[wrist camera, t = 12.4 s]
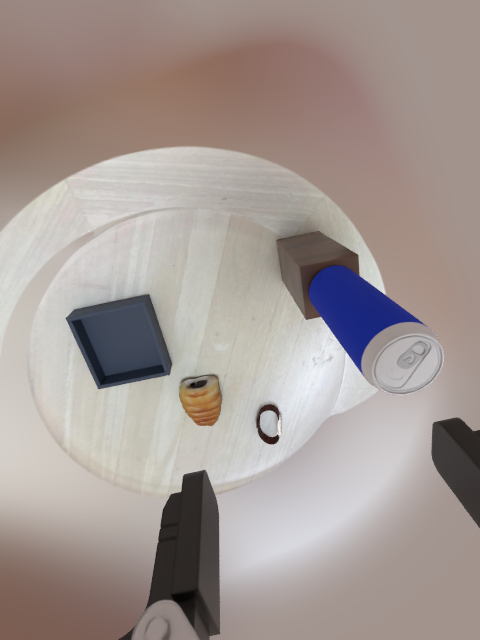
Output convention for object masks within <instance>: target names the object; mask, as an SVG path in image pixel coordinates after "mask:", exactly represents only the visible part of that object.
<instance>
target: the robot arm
mask: <svg viewBox="0 0 480 640" xmlns="http://www.w3.org/2000/svg"><path fill="white" fill-rule="evenodd" d="M432 459H433V462H434V465H435V466H436V469H437V471H438V472H439V474H440V475H441V476H442V478H443V479H444V480H445V482H446V483H447V485H448V486H449V487H450V489H451V490H452V491H453V493H454V494H455V495H456V497H457V498H458V499H459V501H460V502H461V503H462V505H463V506H464V508H465V509H466V510H467V512H468V513H469V514H470V516H471V517H472V518H473V520H474V521H475V522H476V523H477V525H478V527H479V528H480V430H478V431H472V430H471V429H470V428H469V427H468V426H467V425H466V424H465V422H463V421H462V420H461V419H460V418H452V419H447V420H442V421H438V422H434V423H433V430H432ZM158 540H159V543H158V545H157V551H156V558H155V565H154V571H153V577H152V583H151V590H150V596H149V600H148V604H147V607H146V609H145V611H144V612H143V614H142V615H141V616H140V618H139V619H138V621H137V623H136V625H135V626H134V628H133V629H132V630H131V631H130V632H128V633H127V634H126V635H125V636H123V637H122V638H120V639H119V640H209V636H212V635H217V634H220V601H219V600H220V595H219V591H220V589H219V512H218V505H217V500H216V497H215V494H214V491H213V488H212V486H211V483H210V480H209V477H208V475H207V472H206V471H205V470H203V471H198V472H193V473H188V474H184V476H183V482H182V491H181V492H179V493H174V494H171V495H170V497H169V499H168V501H167V503H166V505H165V507H164V509H163V513H162V520H161V529H160V533H159V539H158Z"/></svg>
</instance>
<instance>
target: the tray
mask: <svg viewBox="0 0 480 640" xmlns="http://www.w3.org/2000/svg"><path fill="white" fill-rule="evenodd" d="M66 320H67V322H68V324H69V326H70V329H71V331H72V333H73V335H74V337H75V339H76V342H77V344H78V346H79V348H80V350H81V352H82V355H83V357H84V359H85V361H86V363H87V365H88V368H89V370H90V372H91V374H92V376H93V378H94V381H95V383H96V385H97V387H98V389H102V388H107V387H112V386H116V385H121V384H126V383H131V382H136V381H141V380H146V379H151V378H156V377H161V376H166V375H170V371H171V367H172V363H171V360H170V357H169V354H168V351H167V348H166V345H165V342H164V339H163V336H162V333H161V329H160V326H159V323H158V320H157V317H156V314H155V311H154V308H153V305H152V302H151V299H150V296H149V295H144V296H139V297H134V298H129V299H124V300H120V301H115V302H110V303H105V304H100V305H96V306H91V307H86V308H81V309H76V310H74V311H73V312H72V313H71V314H70V315H69V316H68V317H67V318H66Z"/></svg>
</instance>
